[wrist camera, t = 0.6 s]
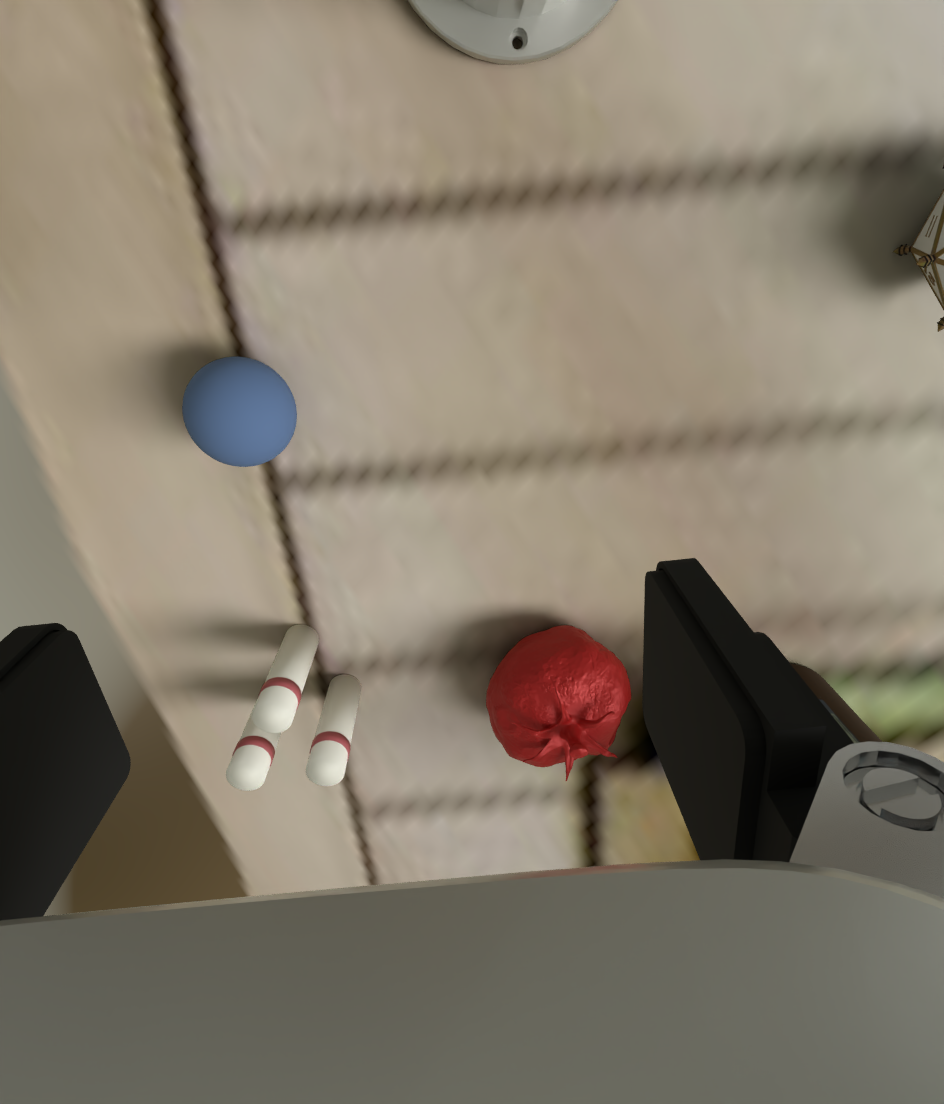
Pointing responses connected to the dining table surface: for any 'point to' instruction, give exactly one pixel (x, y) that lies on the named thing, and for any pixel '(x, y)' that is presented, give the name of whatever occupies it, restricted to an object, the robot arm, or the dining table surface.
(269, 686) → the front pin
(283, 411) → the ball
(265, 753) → the pin
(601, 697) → the pomegranate
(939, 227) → the game die
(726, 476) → the dining table surface
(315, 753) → the pin
